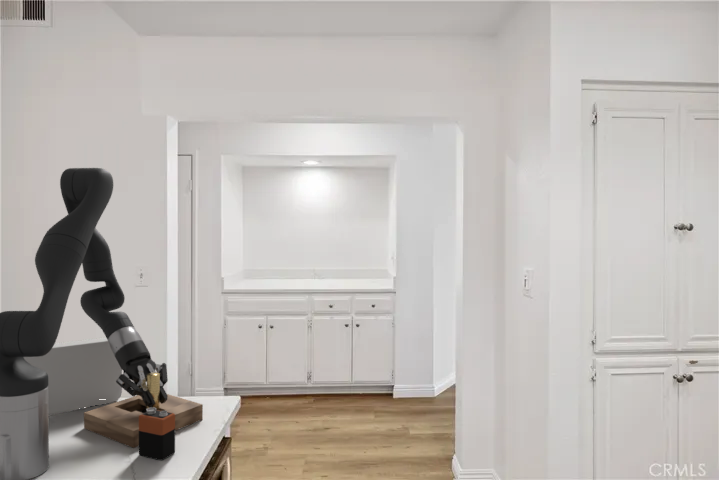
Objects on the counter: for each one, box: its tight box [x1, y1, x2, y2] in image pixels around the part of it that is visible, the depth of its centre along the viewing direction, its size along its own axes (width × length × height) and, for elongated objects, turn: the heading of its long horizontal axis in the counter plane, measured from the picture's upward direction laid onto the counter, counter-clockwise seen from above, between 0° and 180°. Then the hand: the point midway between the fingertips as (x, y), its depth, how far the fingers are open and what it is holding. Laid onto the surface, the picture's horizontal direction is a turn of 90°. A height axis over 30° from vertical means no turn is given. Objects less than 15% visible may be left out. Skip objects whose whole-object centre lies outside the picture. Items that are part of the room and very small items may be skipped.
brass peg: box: [146, 372, 160, 411], centre depth 125 cm, size 5×5×13 cm
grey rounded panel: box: [24, 336, 123, 416], centre depth 137 cm, size 29×8×18 cm, turn 129°
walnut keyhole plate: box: [83, 393, 204, 449], centre depth 127 cm, size 20×20×4 cm
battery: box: [138, 408, 176, 461], centre depth 111 cm, size 4×7×10 cm, turn 69°
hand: (158, 403), depth 124 cm, fingers closed on brass peg, 3 cm apart
